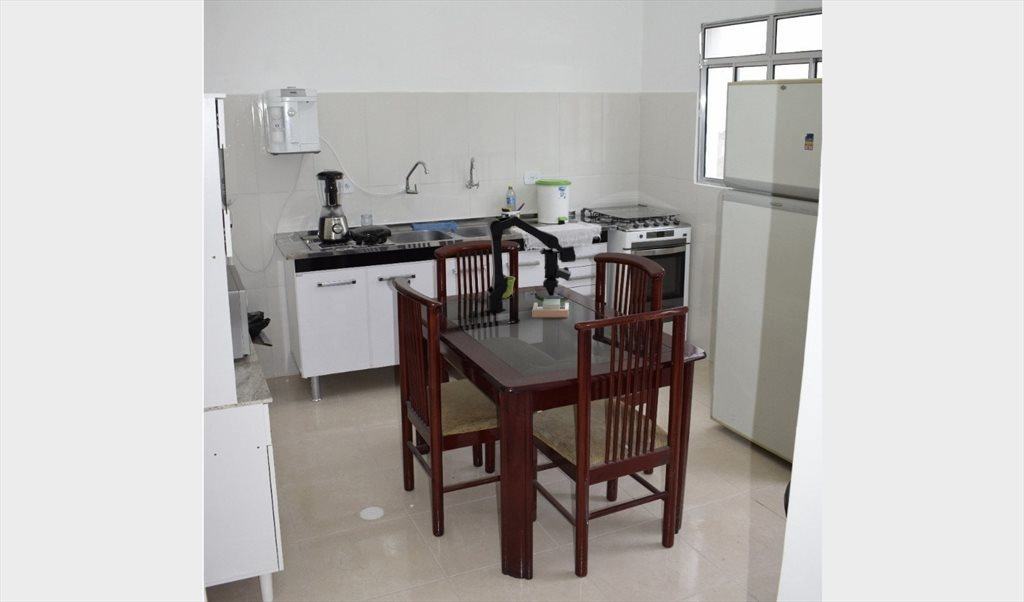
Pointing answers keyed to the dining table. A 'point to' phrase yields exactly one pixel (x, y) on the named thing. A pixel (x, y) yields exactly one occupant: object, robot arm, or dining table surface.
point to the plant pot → (509, 287)
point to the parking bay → (549, 311)
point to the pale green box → (551, 302)
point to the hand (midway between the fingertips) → (551, 298)
